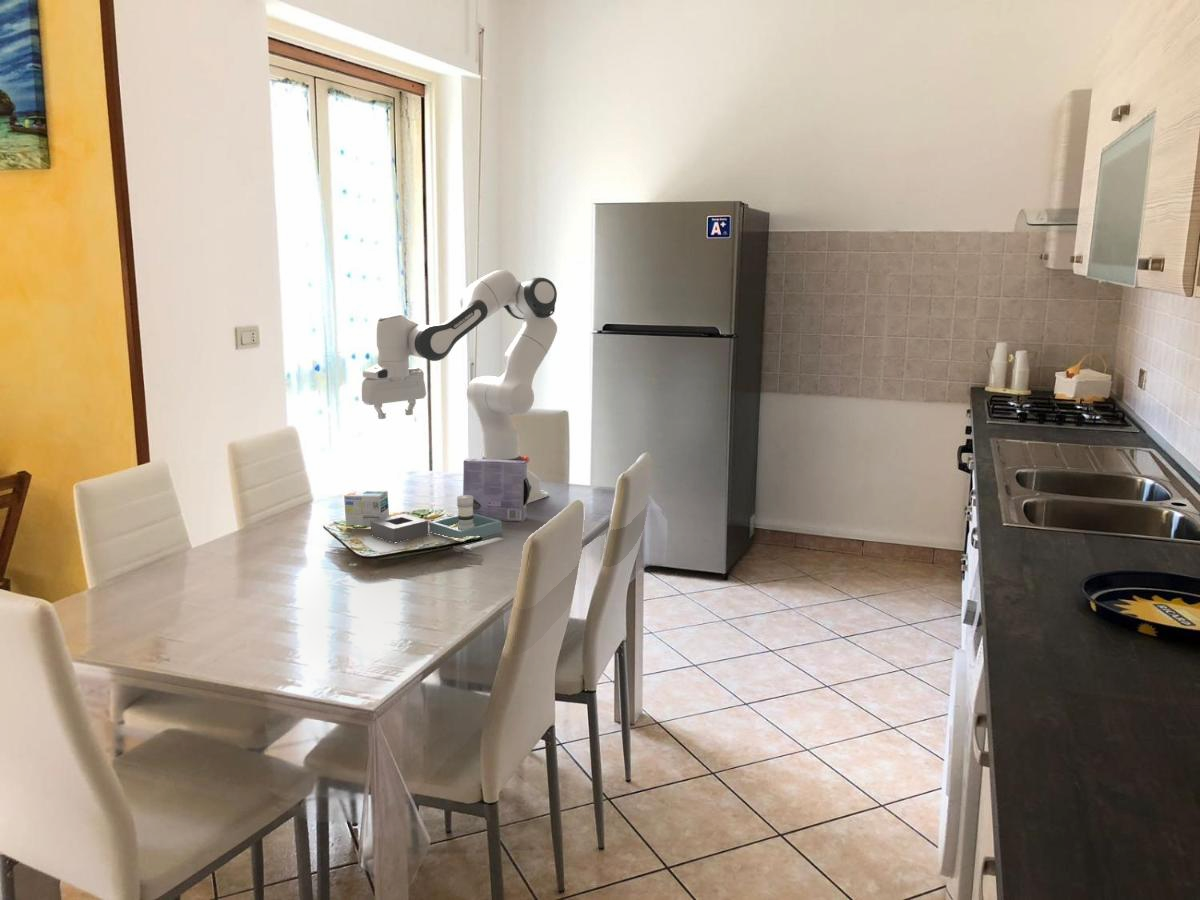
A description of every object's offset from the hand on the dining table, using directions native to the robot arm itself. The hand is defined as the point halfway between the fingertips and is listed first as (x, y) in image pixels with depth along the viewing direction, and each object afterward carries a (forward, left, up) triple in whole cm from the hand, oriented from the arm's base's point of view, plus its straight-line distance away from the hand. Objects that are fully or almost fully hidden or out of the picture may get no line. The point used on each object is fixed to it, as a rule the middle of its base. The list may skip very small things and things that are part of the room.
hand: (395, 416), depth 276 cm
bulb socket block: (+16, +23, -29) cm, 40 cm away
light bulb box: (+17, +9, -29) cm, 35 cm away
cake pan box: (-15, +27, -29) cm, 43 cm away
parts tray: (+2, +34, -29) cm, 45 cm away
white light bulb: (+2, +34, -28) cm, 44 cm away
